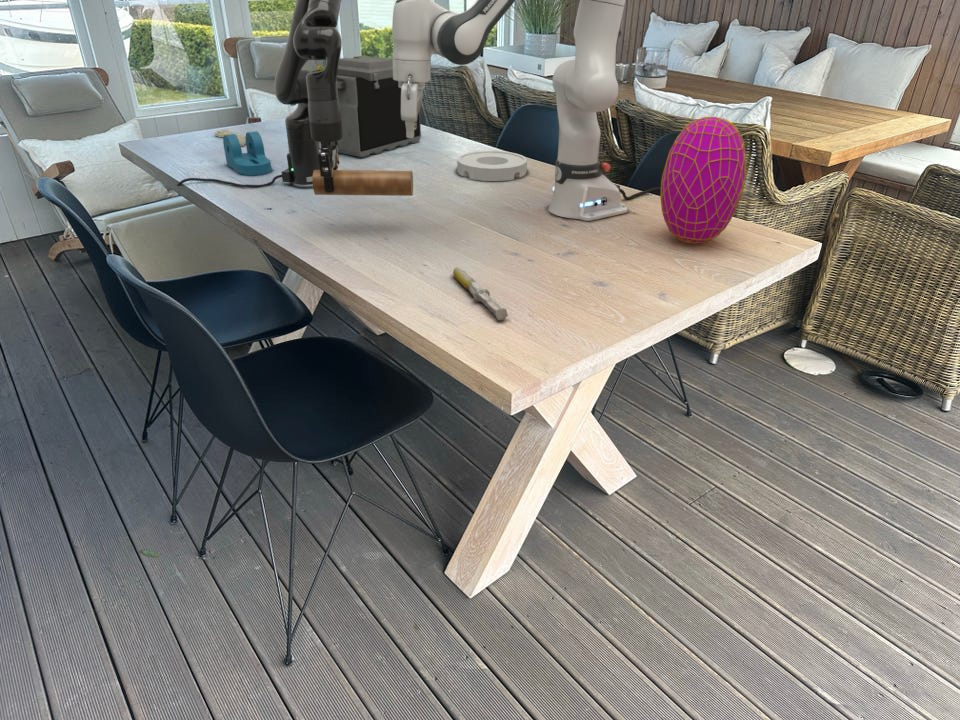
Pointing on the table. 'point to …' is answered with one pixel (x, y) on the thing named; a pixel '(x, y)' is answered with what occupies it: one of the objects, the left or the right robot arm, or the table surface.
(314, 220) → the table surface
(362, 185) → the rod
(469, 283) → the syringe
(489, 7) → the right robot arm
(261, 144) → the camera mount
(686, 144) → the decorative egg
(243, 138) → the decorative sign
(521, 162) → the ashtray
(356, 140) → the grey cooler box
